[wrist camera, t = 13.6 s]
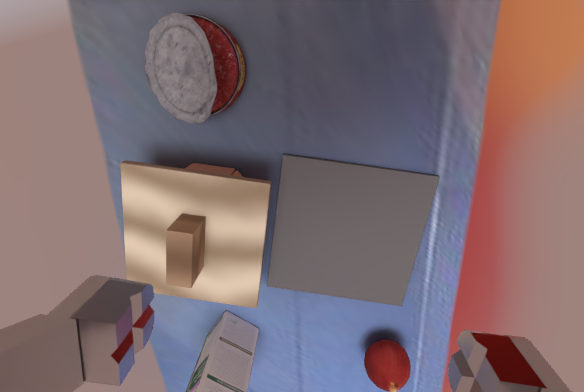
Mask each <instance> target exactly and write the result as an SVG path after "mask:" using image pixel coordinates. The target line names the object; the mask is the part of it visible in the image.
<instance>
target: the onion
mask: <svg viewBox="0 0 584 392" xmlns="http://www.w3.org/2000/svg"><path fill="white" fill-rule="evenodd" d="M364 365H365V368H366V371H367V374H368V377H369V378H370V380H371V381H372V382H373V383H374V384H375V385H376V386H377V387H379V388H380V389H383V390H386V391H391V392H397V391H398V390H399V389H401V388H402V387H403V386H404V385H405V384H406V382H407V381H408V379H409V377H410V360H409V357H408V355H407V353H406V351H405V349H404V348H403V347H401V346H400V345H399V344H398V343H397V342H394V341H392V340H379V341H376V342H374V343H373V344H371V345H370V346H369V348H368V349H367V351H366V353H365V359H364Z"/></svg>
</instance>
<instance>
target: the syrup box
mask: <svg viewBox="0 0 584 392" xmlns="http://www.w3.org/2000/svg"><path fill="white" fill-rule="evenodd" d="M258 334H259V329H258V328H257V327H255V326H254V325H252V324H250V323H249V322H247V321H245V320H243V319H241V318H239V317H238V316H236V315H234V314H232V313H230V312H228V311H225V313H224V314H223V315H222V316H221V318H220V319H219V320H218V321H217V323H216V324H215V325H214V327H213V328H212V330H211V331H210V333H209V334H208V335H207V338H206V340H205V343H204V345H203V348H202V351H201V353H200V356H199V358H198V361H197V364H196V366H195V369H194V371H193V374H192V376H191V379H190V382H189V384H188V387H187V389H186V392H247V390H248V385H249V380H250V375H251V370H252V364H253V359H254V354H255V349H256V344H257V339H258Z"/></svg>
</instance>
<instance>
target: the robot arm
mask: <svg viewBox="0 0 584 392" xmlns="http://www.w3.org/2000/svg"><path fill="white" fill-rule="evenodd" d="M153 298H154V291H153V286H152V285H151V284H148V283H142V282H136V281H130V280H124V279H119V278H111V277H105V276H99V275H94V276H90V277H89V278H88V279H87V280H85V281H84V282H83V283H82V284H81V285H80V286H79V287H78V288H77V289H75V290H74V291H73V292H72V293H71V294H70V295H69V296H68V297H66V298H65V299H64V300H63V301H62V302H61V303H60V304H59V305H58V306H57V307H55V308H54V309H53V310H52V311H51V312H50V313H49V314H48V315H44V314H40V315H37V316H34V317H32V318H29V319H27V320H24V321H22V322H19V323H16V324H14V325H11V326H8V327H6V328H3V329H1V330H0V392H73V391H74V390H75V389H77V388H78V387H80V386H81V385H83V383H84V382H91V383H100V384H108V385H116V386H120V385H121V384H122V382H123V380H124V379H125V377H126V376H127V374H128V372H129V371H130V369H131V368H132V366H133V364H134V354H135V353H137V352H139V351H140V350H142V349H143V348H144V347H145V345H146V343H147V342H148V340H149V338H150V335H151V332H152V329H153V324H154V310H153V309H152V308H151V306H150V305H149V304H150V302H151V301H152V300H153ZM457 343H458V345H459V347H460V350H459V351H458V352H456V353H455V354H453V355H452V357H451V360H450V363H449V373H448V376H449V382H450V386H451V388H452V391H453V392H571V391H570V389H569V388H568V387H567V386H566V384H565V383H564V382H563V381H562V380H561V378H560V377H559V376H558V375H557V373H556V372H555V371H554V370H553V368H552V367H551V366H550V365H549V364H548V362H547V361H546V360H545V359H544V358H543V356H542V355H541V354H540V352H539V351H538V350H537V349H536V347H535V346H534V345H533V344H532V343H531V341H529V340H528V339H526V338H524V337H517V336H508V335H497V334H490V333H482V332H474V331H468V330H464V331H463V332H462V333H461V334H460V336H459V338H458V341H457Z"/></svg>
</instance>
